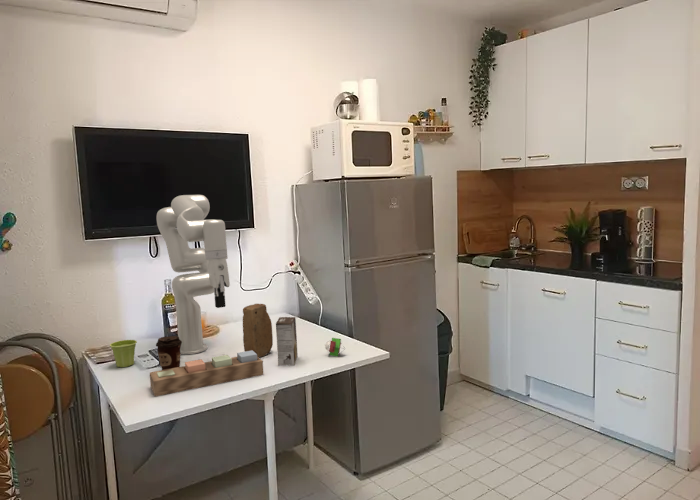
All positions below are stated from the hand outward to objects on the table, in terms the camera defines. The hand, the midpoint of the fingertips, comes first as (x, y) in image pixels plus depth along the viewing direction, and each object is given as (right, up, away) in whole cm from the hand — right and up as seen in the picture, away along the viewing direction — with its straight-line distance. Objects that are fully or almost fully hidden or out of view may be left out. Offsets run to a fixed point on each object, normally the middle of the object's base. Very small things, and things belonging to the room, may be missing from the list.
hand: (220, 306), depth 185 cm
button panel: (-3, -25, -5) cm, 25 cm away
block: (+10, -21, +22) cm, 32 cm away
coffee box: (+22, -22, +12) cm, 34 cm away
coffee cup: (-19, -24, +4) cm, 31 cm away
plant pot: (-40, -24, +15) cm, 49 cm away
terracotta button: (-6, -22, -7) cm, 24 cm away
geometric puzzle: (+40, -21, +18) cm, 48 cm away
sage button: (+1, -21, -3) cm, 22 cm away
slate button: (+9, -20, +1) cm, 23 cm away
